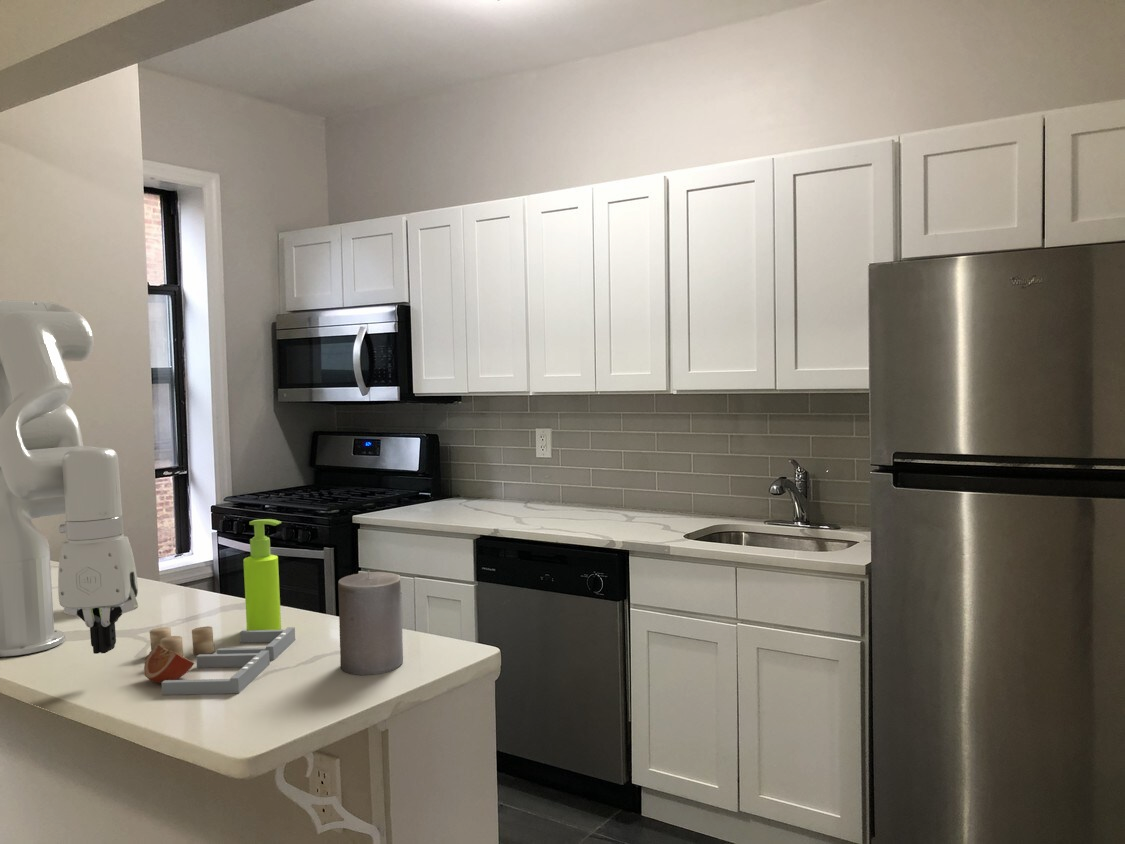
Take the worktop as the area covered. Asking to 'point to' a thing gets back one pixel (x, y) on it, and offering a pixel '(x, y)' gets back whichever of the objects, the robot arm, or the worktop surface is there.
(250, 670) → the corral
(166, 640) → the cork
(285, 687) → the worktop surface
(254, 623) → the soap dispenser
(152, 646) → the cork
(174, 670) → the fruit slice
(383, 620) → the pillar candle
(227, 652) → the corral
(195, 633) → the cork
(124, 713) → the worktop surface
